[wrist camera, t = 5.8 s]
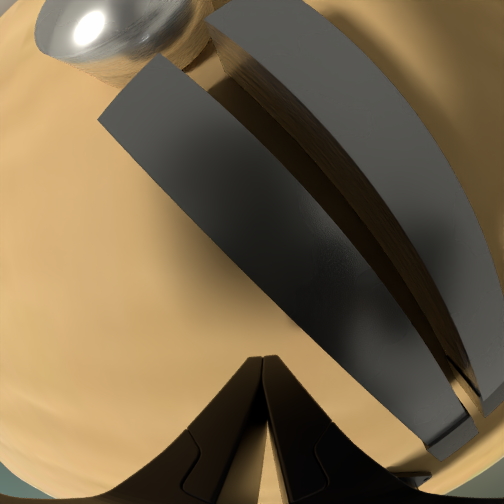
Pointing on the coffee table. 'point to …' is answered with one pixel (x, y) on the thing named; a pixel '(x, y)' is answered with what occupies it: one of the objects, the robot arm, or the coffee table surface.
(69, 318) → the coffee table surface
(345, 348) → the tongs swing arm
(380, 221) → the tongs fixed arm
